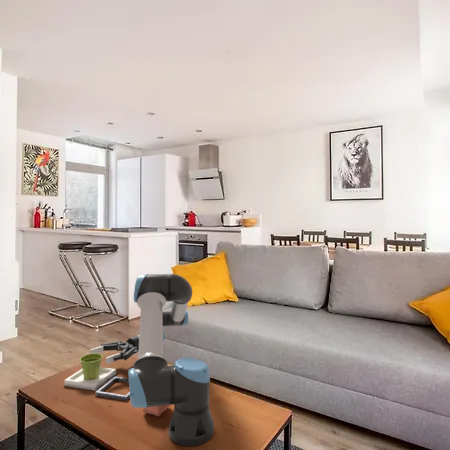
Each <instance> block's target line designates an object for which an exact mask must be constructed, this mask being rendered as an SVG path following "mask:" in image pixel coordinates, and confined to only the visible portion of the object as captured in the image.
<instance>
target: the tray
mask: <svg viewBox="0 0 450 450" xmlns="http://www.w3.org/2000/svg"><path fill="white" fill-rule="evenodd" d="M116 372H117V370H116V368H111V367H110V368H109V367H103V366H100V369H99V376H98V377H97V378H95V379H91V380H86V379H84V375H83V369H82V368H81V369H80V370H77V371H76V372H75V373H72V375H70V376H68V377H67V378H65V379H64V386H65V387H68V388H69V387H70V388H75V389H81V390H82V389H83V390H90V391H94V392H96V391H97V390H99V389H100V388H101V387H102V386H104V385H105V384H106V383H107V382H109V381H110V380H111V379H112V378H114V377H115V376H116V375H117V373H116Z"/></svg>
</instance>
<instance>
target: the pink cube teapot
mask: <svg viewBox="0 0 450 450" xmlns="http://www.w3.org/2000/svg"><path fill="white" fill-rule="evenodd" d="M170 406H171V405H163V406H154V407H146V408H144V407H142V410H143V411H142V412H143V413H146V414H148V415H153V416H155V417H160V416H162V414H163V413H164V412H166V411H167V409H168V408H170Z"/></svg>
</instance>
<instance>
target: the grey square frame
mask: <svg viewBox="0 0 450 450" xmlns="http://www.w3.org/2000/svg"><path fill="white" fill-rule="evenodd" d="M115 382H120V383H126V384H129V377H121V376H116V375H115V376H113V377H112V378H111V379H109V380H108V381H107V382H106V383H104V384H103V385H102V386H101V387H99V388H98V389H97V390H96V391H94V392H95V397H99V398H106V399H107V398H108V399H113V400H120V401H124V402H125V401H128V400H130V391H129V392H128V393H126V394H119V393H113V392H105V391H106V390H107V389H108V388H109V387H111V386H112V385H113V384H114V383H115Z"/></svg>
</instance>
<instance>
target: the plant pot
mask: <svg viewBox="0 0 450 450" xmlns="http://www.w3.org/2000/svg"><path fill="white" fill-rule="evenodd" d="M103 357H104V356H103V354H101V353H98V354H97V353H94V354H90V353H88V354H85V355H82V356H80V358H79V362H80V363H81V367H82V368H81V369H83V375H84V379H86V380H91V379H95V378H97V377H98V376H99V369H100V367H101V362H102V359H103Z"/></svg>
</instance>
